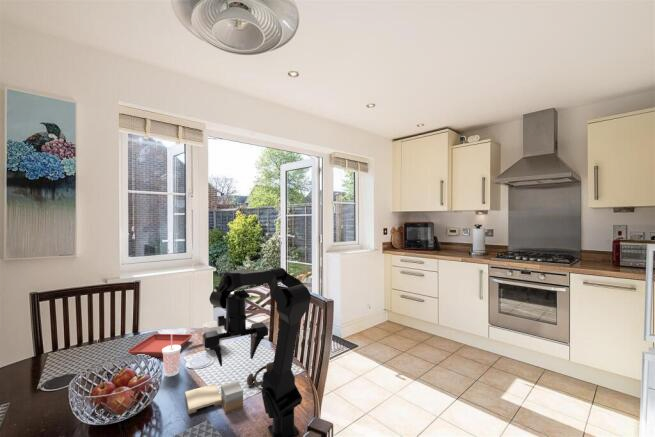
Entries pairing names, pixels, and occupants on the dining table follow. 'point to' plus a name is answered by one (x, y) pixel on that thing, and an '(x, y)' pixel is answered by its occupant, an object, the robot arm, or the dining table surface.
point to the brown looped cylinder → (253, 378)
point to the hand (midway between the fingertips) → (236, 362)
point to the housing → (232, 397)
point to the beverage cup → (171, 359)
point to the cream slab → (202, 397)
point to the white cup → (212, 329)
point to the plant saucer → (159, 344)
